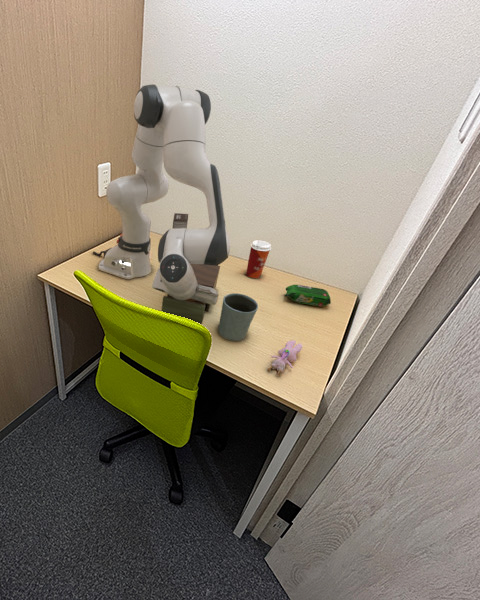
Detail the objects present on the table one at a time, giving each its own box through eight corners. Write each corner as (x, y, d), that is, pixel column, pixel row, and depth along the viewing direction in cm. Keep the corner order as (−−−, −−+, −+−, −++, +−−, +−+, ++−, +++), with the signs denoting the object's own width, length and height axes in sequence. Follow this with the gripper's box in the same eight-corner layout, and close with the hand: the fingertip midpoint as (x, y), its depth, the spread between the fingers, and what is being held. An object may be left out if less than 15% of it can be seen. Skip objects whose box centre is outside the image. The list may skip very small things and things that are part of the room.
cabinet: (208, 312, 118) (213, 286, 112) (167, 302, 123) (170, 277, 116) (215, 289, 130) (220, 265, 124) (178, 282, 134) (181, 258, 128)
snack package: (281, 292, 128) (285, 280, 125) (327, 299, 124) (332, 288, 121) (282, 302, 123) (286, 290, 120) (330, 310, 119) (336, 298, 116)
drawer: (198, 337, 105) (202, 314, 100) (157, 326, 110) (159, 304, 105) (208, 305, 120) (212, 284, 115) (171, 297, 124) (174, 276, 119)
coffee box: (170, 244, 163) (174, 212, 154) (184, 245, 162) (188, 213, 153) (169, 252, 156) (173, 219, 147) (183, 254, 155) (188, 220, 146)
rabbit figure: (282, 382, 93) (307, 351, 100) (287, 369, 89) (312, 337, 96) (261, 370, 97) (286, 340, 104) (265, 357, 93) (290, 327, 100)
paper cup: (256, 281, 135) (266, 249, 127) (239, 274, 140) (247, 243, 132) (266, 275, 139) (276, 244, 131) (249, 268, 144) (257, 237, 136)
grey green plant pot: (214, 321, 113) (220, 292, 106) (245, 323, 112) (253, 294, 106) (219, 341, 105) (226, 310, 98) (252, 344, 104) (262, 313, 97)
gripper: (220, 283, 95) (222, 295, 108) (153, 266, 103) (162, 279, 116) (213, 303, 94) (216, 313, 107) (146, 285, 102) (156, 296, 115)
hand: (187, 295), depth 112 cm, fingers closed on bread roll, 5 cm apart
